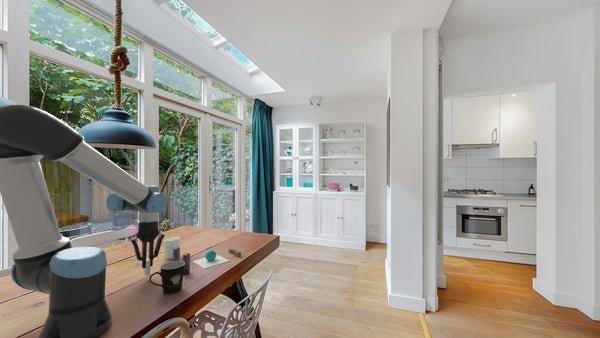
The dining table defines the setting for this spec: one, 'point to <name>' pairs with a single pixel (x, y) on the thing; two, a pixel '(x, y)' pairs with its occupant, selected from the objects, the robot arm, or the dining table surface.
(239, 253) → the stopper wall
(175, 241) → the white cup
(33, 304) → the dining table surface
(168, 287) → the coffee mug
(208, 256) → the ball
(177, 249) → the far post
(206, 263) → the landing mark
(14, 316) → the dining table surface
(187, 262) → the near post
